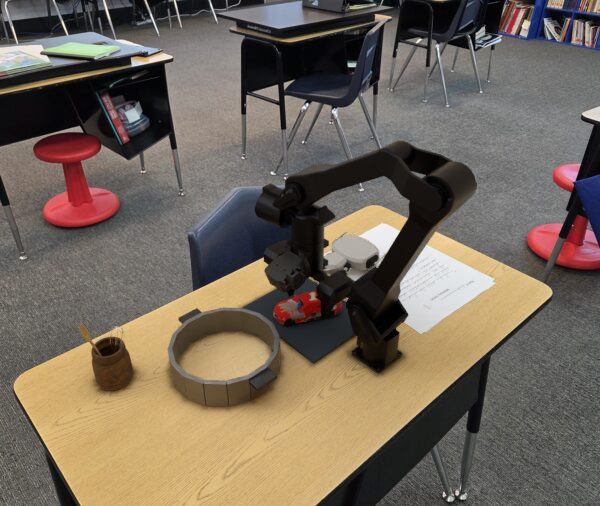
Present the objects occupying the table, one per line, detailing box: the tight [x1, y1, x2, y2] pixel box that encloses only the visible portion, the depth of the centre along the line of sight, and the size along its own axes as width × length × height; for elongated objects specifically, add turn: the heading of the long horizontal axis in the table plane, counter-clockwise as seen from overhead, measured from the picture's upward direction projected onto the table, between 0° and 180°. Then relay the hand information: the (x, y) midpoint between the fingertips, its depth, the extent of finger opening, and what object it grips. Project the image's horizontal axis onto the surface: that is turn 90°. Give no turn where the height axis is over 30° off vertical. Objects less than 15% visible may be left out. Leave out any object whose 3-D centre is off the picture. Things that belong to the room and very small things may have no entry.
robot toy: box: [323, 229, 388, 277], centre depth 116 cm, size 12×4×15 cm
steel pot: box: [167, 307, 281, 408], centre depth 91 cm, size 22×18×5 cm
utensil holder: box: [78, 321, 134, 391], centre depth 87 cm, size 6×6×12 cm
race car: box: [273, 291, 342, 326], centre depth 102 cm, size 13×5×4 cm, turn 105°
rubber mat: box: [241, 277, 356, 364], centre depth 103 cm, size 20×16×1 cm
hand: (307, 306), depth 102 cm, fingers open, 9 cm apart
